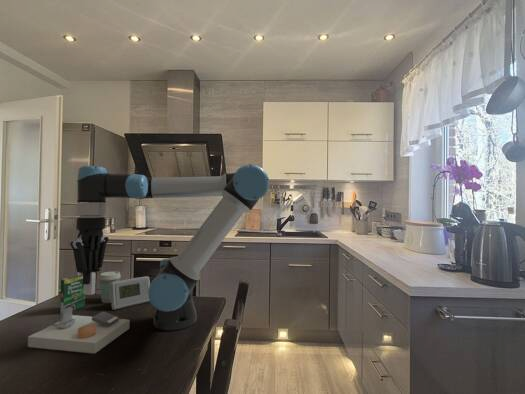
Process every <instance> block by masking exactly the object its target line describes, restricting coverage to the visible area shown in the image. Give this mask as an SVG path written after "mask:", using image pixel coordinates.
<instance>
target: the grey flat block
mask: <svg viewBox="0 0 525 394" xmlns="http://www.w3.org/2000/svg"><path fill="white" fill-rule="evenodd" d="M91 317H92V321H95V322H97V323H100V324H103V325H105V326H108V327H109V326H111V325H112V324H114V323H115V322H117V321H118V320H119V319H121V318H120V316H117V315H115V314H111V313H109V312H107V311H102V312H99V313H97V314H96V315H94V316H91Z"/></svg>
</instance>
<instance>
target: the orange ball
mask: <svg viewBox="0 0 525 394" xmlns="http://www.w3.org/2000/svg"><path fill="white" fill-rule="evenodd" d="M96 328H97V326H96V325H85V326H82V327H80V328H79V329H78V338H81V339H84V338H89V337H92V336H94V335H95V334H96Z"/></svg>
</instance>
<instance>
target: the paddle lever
mask: <svg viewBox="0 0 525 394" xmlns="http://www.w3.org/2000/svg"><path fill="white" fill-rule="evenodd" d="M72 310H73V307H68V308H66V309H64V310H62V311H60V310H59V311H60V313H59V314H60V315H59V321H60V322H59V321H58V322H59V323H57V322H56V323H57V327H56V328H66V327H68V326H70V325H72V324H74V323H75V319H72V315H73V311H74V310H73V311H72Z"/></svg>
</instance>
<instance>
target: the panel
mask: <svg viewBox="0 0 525 394" xmlns="http://www.w3.org/2000/svg"><path fill="white" fill-rule="evenodd" d="M92 317H93V316H89V315H78V314H77V315H76V314H75V315H74V314H72V319H75V323H74V324H72V325H70V326H68V327H66V328H56V327H57V323H59V322H60V320H59V321H57V322H56V323H52V324H51V325H49V326H47V327H46V328H44V329H42V330H39V331H37V332H35V333H33V334H31V335H28V336H27V347H28V348H35V349H36V348H37V349H46V350H53V351H56V350H57V351H65V352H75V353H84V354H85V353H86V354H97V352H99V351H100V350H102V349H103V348H105V347H106V346H107V345H109V344H111V343H112V342H113V341H114V340H116V339H117V338H119V337H120V336H121V335H123V333H126V332H127V331H128V330H129V329H130V324H131V323H130V321H131V320H130V319H126V318H119V320H118V321H117V322H115V323H114V324H112V325H111V326H109V327H108V326H105V325H103V324H100V323H97V322H95V321H92ZM85 325H96V326H97V328H96V334H95V335H94V336H92V337H89V338H84V339H81V338H78V329H79V328H80V327H82V326H85Z"/></svg>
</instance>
